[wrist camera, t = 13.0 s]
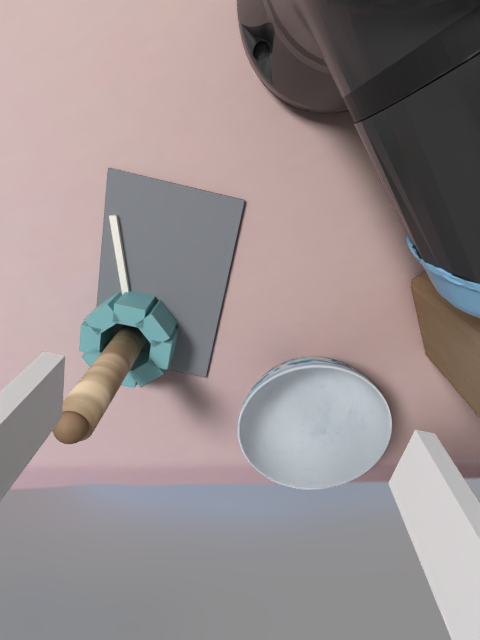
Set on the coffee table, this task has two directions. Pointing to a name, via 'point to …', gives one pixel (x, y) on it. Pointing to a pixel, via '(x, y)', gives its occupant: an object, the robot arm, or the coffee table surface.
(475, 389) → the wooden block
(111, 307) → the bead
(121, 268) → the white stick
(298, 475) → the chinaware
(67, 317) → the coffee table surface
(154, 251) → the mat
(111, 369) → the wooden rod
